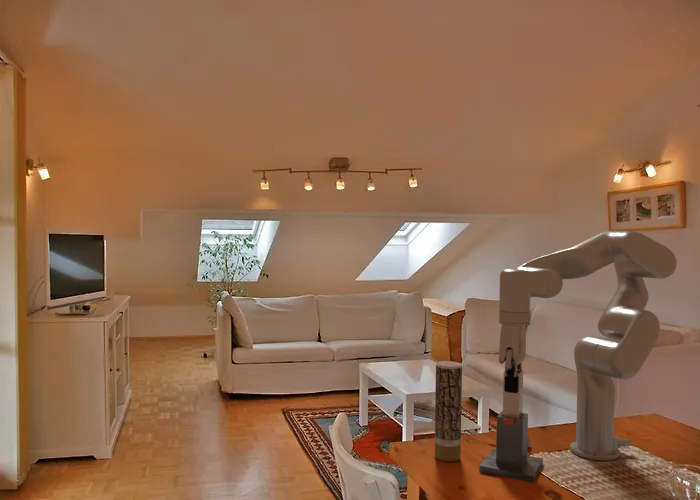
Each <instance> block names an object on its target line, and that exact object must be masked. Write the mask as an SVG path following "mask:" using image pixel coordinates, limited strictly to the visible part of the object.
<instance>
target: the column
mask: <svg viewBox="0 0 700 500" xmlns="http://www.w3.org/2000/svg"><path fill="white" fill-rule="evenodd" d="M517 377H518V392H517V393H510V392H505V391H504V383H505V370H504V371H503V382H502V383H503V388H502V389H503V390H502V393H503V394H502V395H503V396H502V397H503V398H502V410H503V417H509V418H516V419H521V418H522V416H523V414H522V413H523V407H524V406H523V402H524V401H523V400H524V398H523V397H524V395H523V393H524V370H523V369H522V370H517Z"/></svg>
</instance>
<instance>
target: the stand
mask: <svg viewBox="0 0 700 500" xmlns="http://www.w3.org/2000/svg"><path fill="white" fill-rule="evenodd" d="M522 414H523V416H522V418H521V419H516V418H509V417H503V409H502V410H501V411H500V412H499V413H498V415H497V416H496V446H495V447H496V449H494V448H493V449H491V451H489V453H488V454H487V456H486V457H485V458H484V459H483V461H482V462H481V463H480V465H479V472H480V473H482V474H483V473H484V474H489V475H494V476H500V477H504V478H508V479H509V478H510V479H514V480H519V481H523V482H529V483H534V481H535V480H536V478H537V477H538V474H539V473H540V470H541V468H542V467H543V464H544V463H543V461H544V460H543V457H538V456H533V455H528V447H527V444H528V437H529V433H528V432H529V413H526V412H522Z"/></svg>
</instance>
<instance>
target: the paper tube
mask: <svg viewBox="0 0 700 500" xmlns="http://www.w3.org/2000/svg"><path fill="white" fill-rule="evenodd" d="M462 388H463V364H462V362H457V361H450V360H442V361H437V362H436V363H435V401H434V403H435V406H434V410H435V412H434V413H435V415H434V456H435V458H436V459H437V460H439V461H442V462H449V463H451V462H452V463H453V462H456V461H458V460H460V458H461V451H462V450H461V448H462V445H461V444H462V400H463V399H462V393H463V391H462V390H463V389H462Z"/></svg>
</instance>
